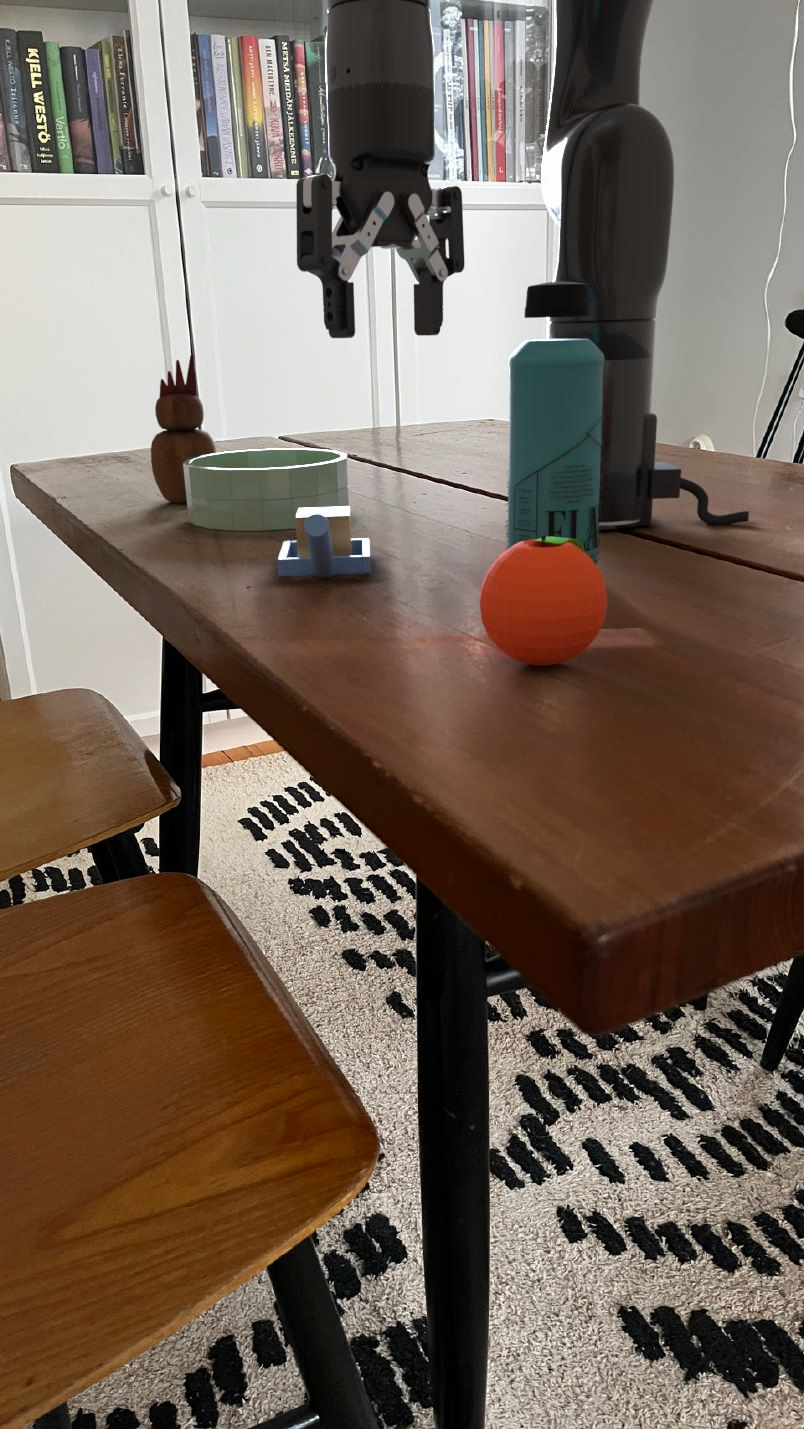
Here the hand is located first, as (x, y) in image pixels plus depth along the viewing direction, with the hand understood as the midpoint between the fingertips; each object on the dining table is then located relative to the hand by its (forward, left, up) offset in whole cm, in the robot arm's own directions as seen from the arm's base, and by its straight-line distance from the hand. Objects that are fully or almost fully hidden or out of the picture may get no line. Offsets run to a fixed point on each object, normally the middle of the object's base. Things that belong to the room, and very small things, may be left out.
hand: (386, 336), depth 79 cm
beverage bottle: (-11, +12, -17) cm, 23 cm away
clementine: (-8, +28, -17) cm, 34 cm away
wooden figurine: (+21, -32, -17) cm, 42 cm away
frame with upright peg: (+5, +8, -17) cm, 19 cm away
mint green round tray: (+11, -18, -17) cm, 27 cm away
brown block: (+5, +4, -16) cm, 17 cm away
